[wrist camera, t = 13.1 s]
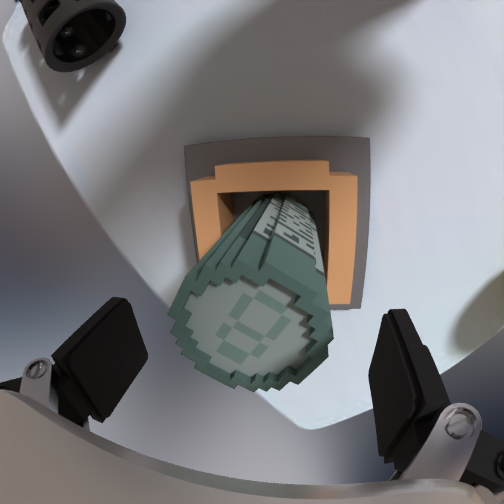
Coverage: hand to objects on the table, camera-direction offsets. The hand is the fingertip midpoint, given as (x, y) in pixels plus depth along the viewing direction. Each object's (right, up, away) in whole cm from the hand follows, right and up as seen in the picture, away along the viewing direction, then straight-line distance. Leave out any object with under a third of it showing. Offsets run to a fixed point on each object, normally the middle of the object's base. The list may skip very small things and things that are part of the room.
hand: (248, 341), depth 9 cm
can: (+2, +5, +15) cm, 16 cm away
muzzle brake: (-23, +36, +9) cm, 44 cm away
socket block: (+3, +5, +16) cm, 17 cm away
